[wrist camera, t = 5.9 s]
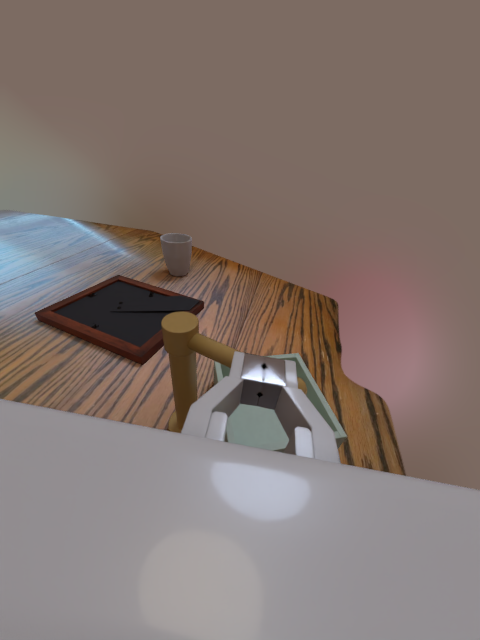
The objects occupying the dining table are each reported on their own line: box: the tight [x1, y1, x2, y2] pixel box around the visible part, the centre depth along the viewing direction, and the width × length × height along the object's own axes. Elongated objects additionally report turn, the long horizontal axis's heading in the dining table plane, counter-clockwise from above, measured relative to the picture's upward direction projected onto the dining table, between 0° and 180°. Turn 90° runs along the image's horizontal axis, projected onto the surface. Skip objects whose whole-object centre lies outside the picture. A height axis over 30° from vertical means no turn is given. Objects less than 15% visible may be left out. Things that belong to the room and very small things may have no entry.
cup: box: [160, 234, 192, 276], centre depth 64 cm, size 8×8×10 cm
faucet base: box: [168, 352, 197, 433], centre depth 26 cm, size 5×5×14 cm
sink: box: [214, 353, 347, 453], centre depth 31 cm, size 14×14×5 cm
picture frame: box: [35, 275, 204, 365], centre depth 48 cm, size 20×2×25 cm
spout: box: [161, 311, 307, 395], centre depth 20 cm, size 14×3×4 cm, turn 62°
